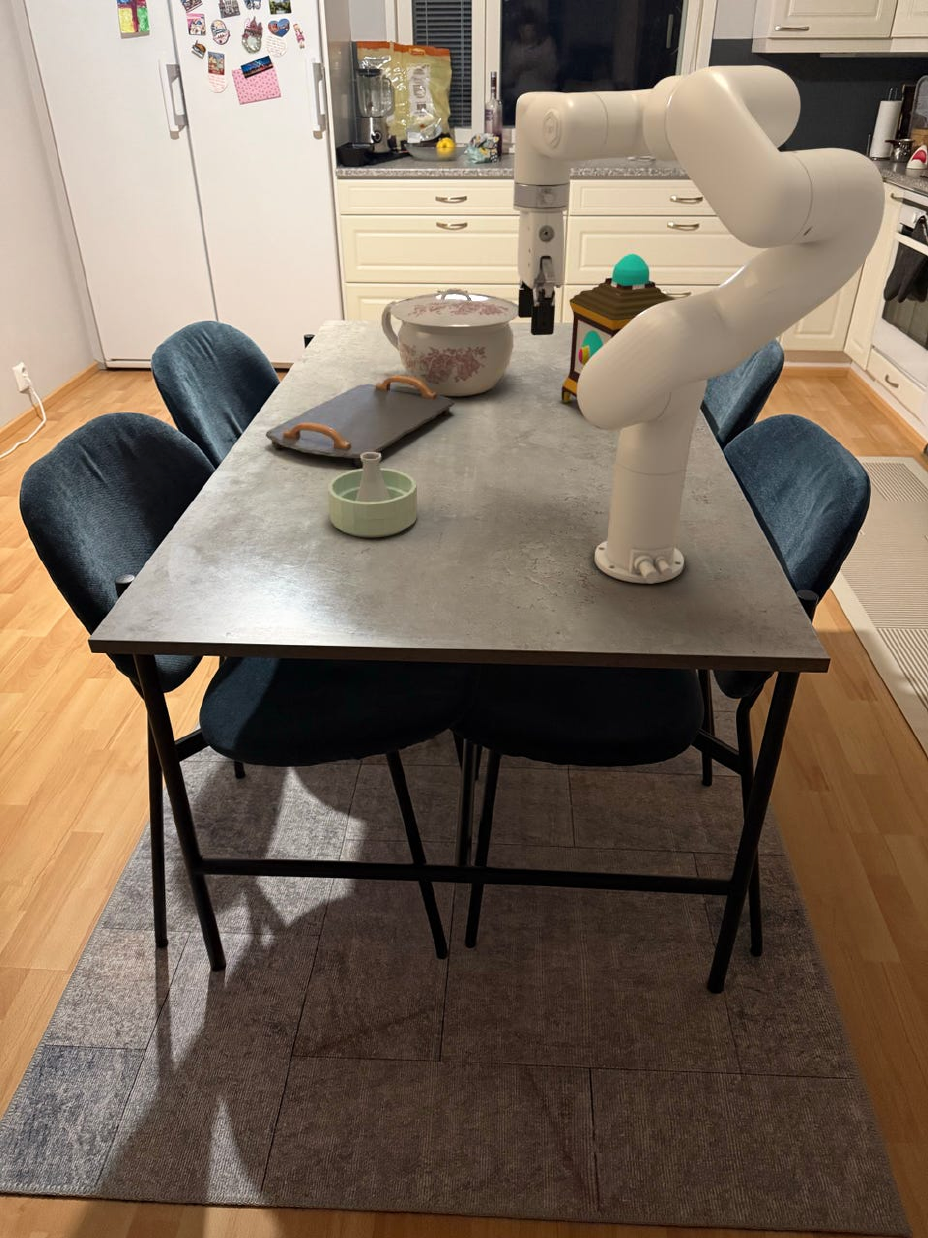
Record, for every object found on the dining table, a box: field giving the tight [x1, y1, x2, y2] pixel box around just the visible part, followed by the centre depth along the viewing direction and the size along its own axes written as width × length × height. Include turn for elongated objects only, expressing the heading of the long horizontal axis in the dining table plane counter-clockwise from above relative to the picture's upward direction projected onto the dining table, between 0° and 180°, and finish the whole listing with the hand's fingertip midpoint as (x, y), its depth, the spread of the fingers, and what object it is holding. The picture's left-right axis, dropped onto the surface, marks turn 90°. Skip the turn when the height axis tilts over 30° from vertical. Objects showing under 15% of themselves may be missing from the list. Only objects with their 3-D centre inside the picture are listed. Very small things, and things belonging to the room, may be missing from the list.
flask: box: [355, 452, 392, 502], centre depth 138 cm, size 7×7×10 cm
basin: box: [327, 467, 418, 538], centre depth 139 cm, size 13×13×6 cm
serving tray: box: [265, 375, 456, 469], centre depth 172 cm, size 39×23×6 cm, turn 152°
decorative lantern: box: [560, 253, 677, 403], centre depth 177 cm, size 20×20×30 cm
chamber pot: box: [380, 287, 519, 398], centre depth 191 cm, size 28×28×21 cm
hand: (535, 325), depth 132 cm, fingers open, 9 cm apart
